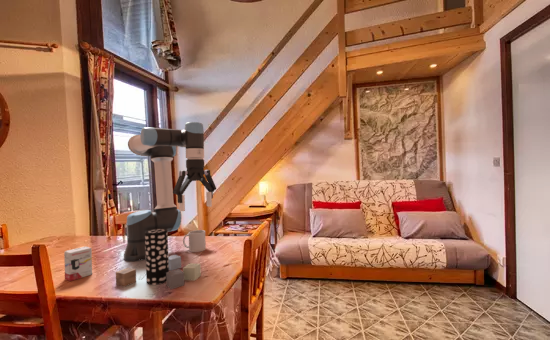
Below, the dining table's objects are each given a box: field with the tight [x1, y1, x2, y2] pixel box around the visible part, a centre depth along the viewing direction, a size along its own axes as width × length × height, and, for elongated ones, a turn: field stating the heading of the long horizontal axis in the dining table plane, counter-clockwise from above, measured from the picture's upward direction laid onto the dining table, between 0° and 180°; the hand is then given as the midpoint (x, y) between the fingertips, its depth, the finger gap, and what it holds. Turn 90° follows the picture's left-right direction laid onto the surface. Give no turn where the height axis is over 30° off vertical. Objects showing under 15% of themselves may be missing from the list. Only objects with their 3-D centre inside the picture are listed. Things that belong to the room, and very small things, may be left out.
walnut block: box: [115, 267, 137, 288], centre depth 106 cm, size 5×5×5 cm
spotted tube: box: [145, 229, 170, 286], centre depth 107 cm, size 8×8×20 cm
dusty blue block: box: [168, 254, 182, 272], centre depth 121 cm, size 5×5×5 cm
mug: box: [182, 229, 207, 253], centre depth 148 cm, size 11×10×10 cm
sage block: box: [182, 263, 202, 282], centre depth 109 cm, size 5×5×5 cm
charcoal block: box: [166, 268, 185, 290], centre depth 103 cm, size 5×5×5 cm
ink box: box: [63, 246, 93, 282], centre depth 114 cm, size 9×5×12 cm, turn 148°
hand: (196, 208), depth 114 cm, fingers open, 13 cm apart
